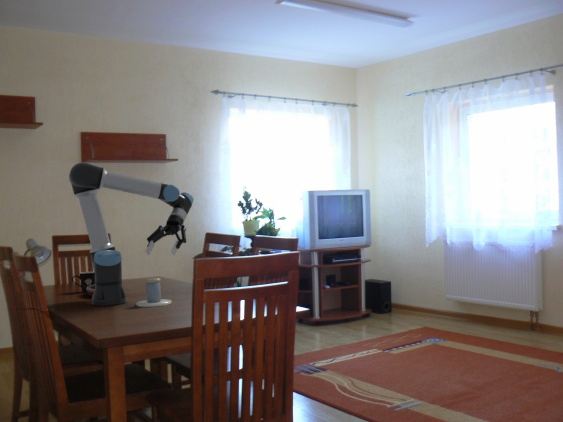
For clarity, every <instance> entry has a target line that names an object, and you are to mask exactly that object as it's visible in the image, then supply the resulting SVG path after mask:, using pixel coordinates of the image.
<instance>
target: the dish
mask: <svg viewBox="0 0 563 422" xmlns="http://www.w3.org/2000/svg"><path fill="white" fill-rule="evenodd" d="M86 290H87V292H86V293H87V294H88V296H90V297H93V294H94V290H95V284H94V285H90V286H88V287H87V288H86Z"/></svg>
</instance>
